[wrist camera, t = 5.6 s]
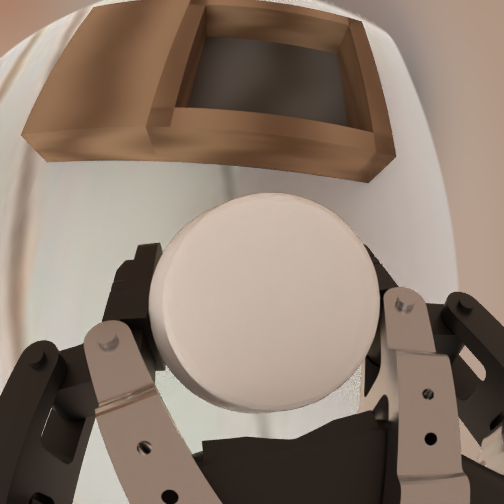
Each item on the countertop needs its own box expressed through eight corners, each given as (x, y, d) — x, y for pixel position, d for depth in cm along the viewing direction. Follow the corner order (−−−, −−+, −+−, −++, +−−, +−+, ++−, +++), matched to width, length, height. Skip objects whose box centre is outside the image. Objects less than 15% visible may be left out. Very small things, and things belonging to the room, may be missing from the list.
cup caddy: (46, 162, 15) (21, 135, 12) (103, 36, 18) (93, 7, 15) (368, 183, 17) (396, 156, 14) (347, 51, 20) (361, 21, 16)
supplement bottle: (307, 274, 16) (433, 211, 6) (276, 378, 14) (369, 468, 5) (204, 241, 16) (183, 119, 6) (169, 345, 14) (82, 396, 4)
